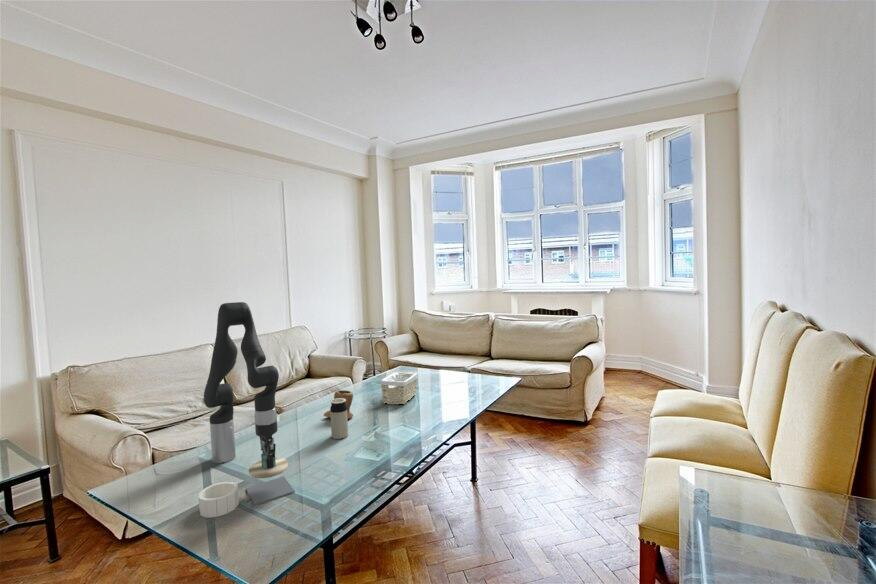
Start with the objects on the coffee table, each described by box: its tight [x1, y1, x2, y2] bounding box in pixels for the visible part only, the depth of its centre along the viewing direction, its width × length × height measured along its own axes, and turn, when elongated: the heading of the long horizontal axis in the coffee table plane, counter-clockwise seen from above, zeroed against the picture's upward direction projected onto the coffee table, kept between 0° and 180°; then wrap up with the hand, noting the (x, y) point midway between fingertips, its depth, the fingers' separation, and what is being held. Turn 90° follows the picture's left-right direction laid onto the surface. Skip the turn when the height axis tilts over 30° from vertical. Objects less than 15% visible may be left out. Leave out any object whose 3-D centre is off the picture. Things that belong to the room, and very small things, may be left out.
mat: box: [245, 476, 296, 507], centre depth 158 cm, size 14×14×1 cm
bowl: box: [197, 481, 240, 519], centre depth 148 cm, size 12×12×6 cm
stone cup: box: [323, 389, 354, 420], centre depth 234 cm, size 15×12×15 cm
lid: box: [248, 453, 289, 479], centre depth 157 cm, size 14×14×6 cm
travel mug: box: [329, 398, 349, 440], centre depth 207 cm, size 8×8×18 cm
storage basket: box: [380, 371, 418, 405], centre depth 263 cm, size 24×16×15 cm
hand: (268, 465), depth 157 cm, fingers closed on lid, 4 cm apart
